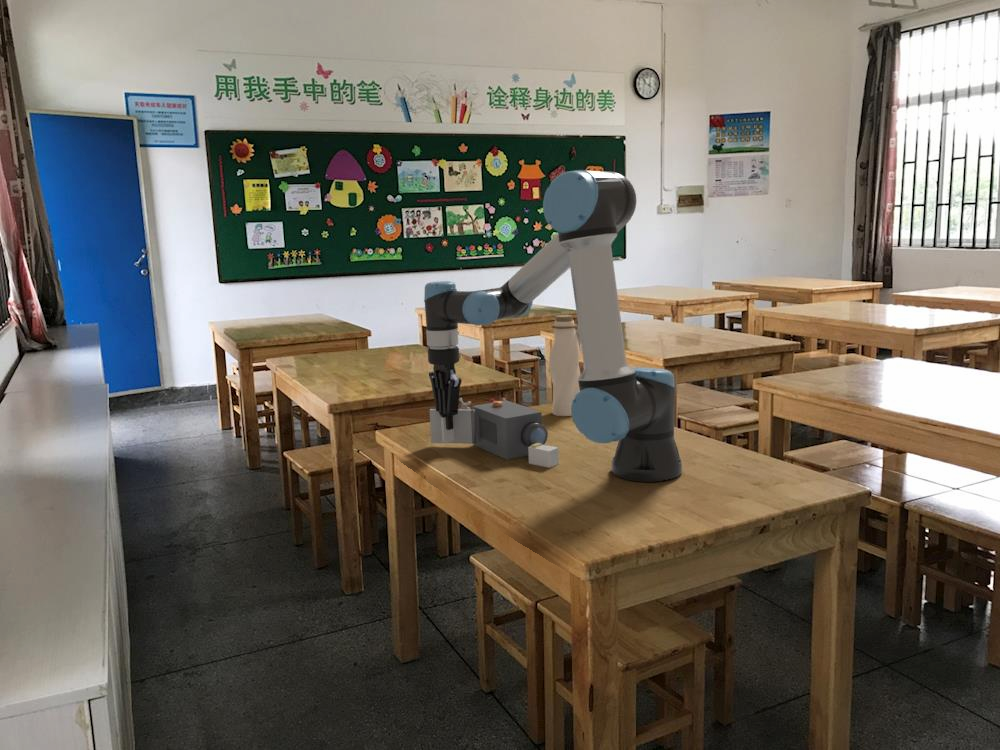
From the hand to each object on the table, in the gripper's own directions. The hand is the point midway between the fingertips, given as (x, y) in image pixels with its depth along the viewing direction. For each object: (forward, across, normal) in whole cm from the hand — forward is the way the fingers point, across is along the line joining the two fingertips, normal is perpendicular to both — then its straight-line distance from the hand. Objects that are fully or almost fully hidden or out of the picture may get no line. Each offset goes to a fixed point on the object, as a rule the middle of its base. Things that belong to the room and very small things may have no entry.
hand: (448, 441), depth 200 cm
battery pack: (+3, -23, -13) cm, 26 cm away
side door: (+1, +2, -3) cm, 4 cm away
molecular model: (+3, +12, -14) cm, 18 cm away
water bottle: (+3, +14, -45) cm, 47 cm away
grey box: (+2, -9, -12) cm, 15 cm away
